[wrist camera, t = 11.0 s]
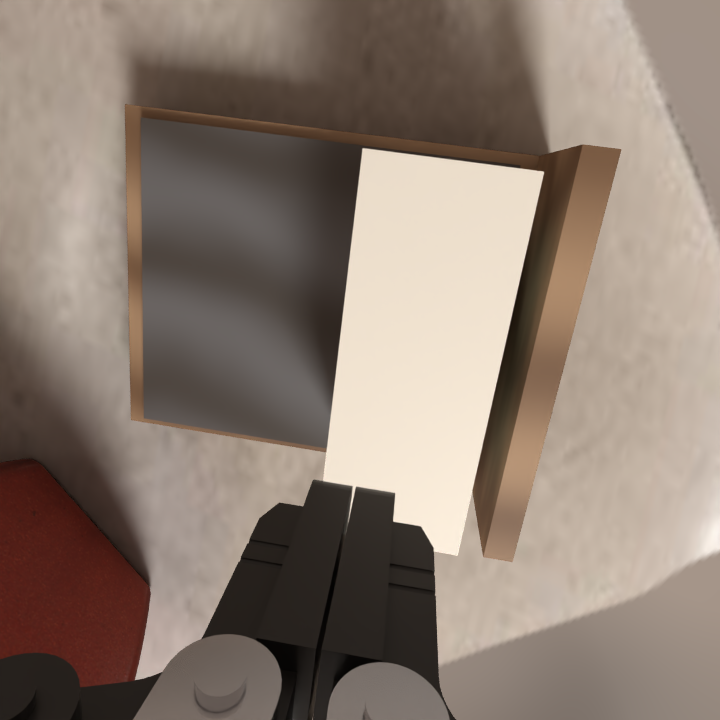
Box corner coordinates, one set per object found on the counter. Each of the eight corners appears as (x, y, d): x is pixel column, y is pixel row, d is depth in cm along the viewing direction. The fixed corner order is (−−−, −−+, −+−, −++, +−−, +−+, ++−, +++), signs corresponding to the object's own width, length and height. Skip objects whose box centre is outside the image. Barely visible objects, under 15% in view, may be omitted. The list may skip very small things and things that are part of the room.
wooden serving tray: (156, 112, 27) (23, 76, 18) (551, 162, 26) (621, 149, 17) (156, 399, 32) (53, 481, 23) (485, 452, 31) (512, 561, 22)
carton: (362, 148, 16) (546, 171, 16) (380, 159, 23) (507, 176, 23) (317, 530, 21) (459, 556, 20) (343, 442, 28) (449, 460, 27)
